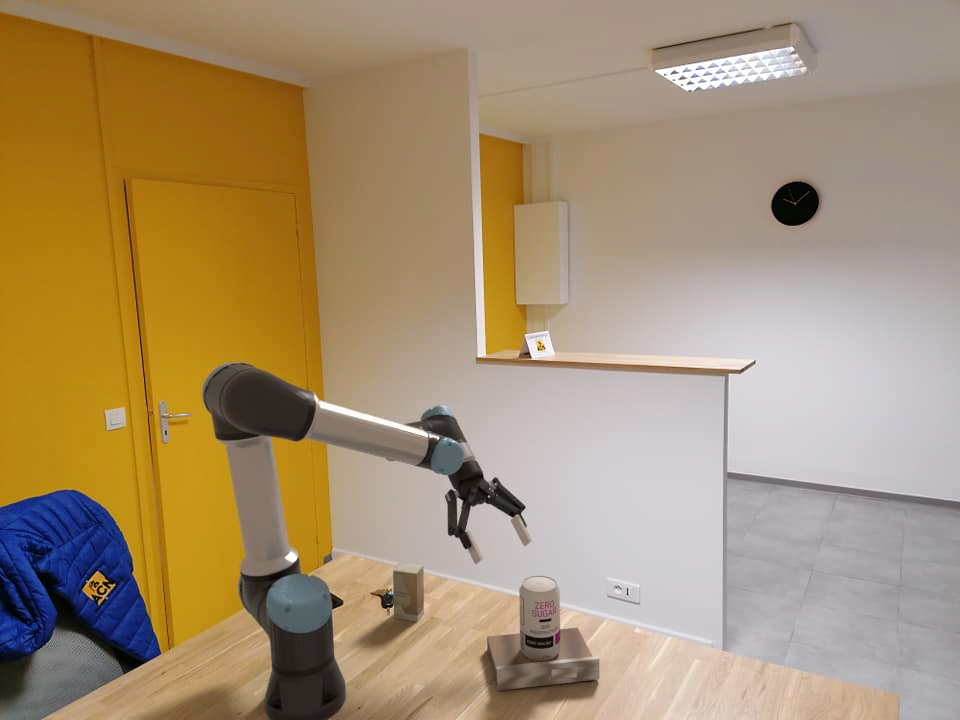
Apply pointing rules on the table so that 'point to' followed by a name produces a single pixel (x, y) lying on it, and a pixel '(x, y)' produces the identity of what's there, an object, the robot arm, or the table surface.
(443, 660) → the table surface
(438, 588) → the table surface
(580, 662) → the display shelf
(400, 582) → the skincare box
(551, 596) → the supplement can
